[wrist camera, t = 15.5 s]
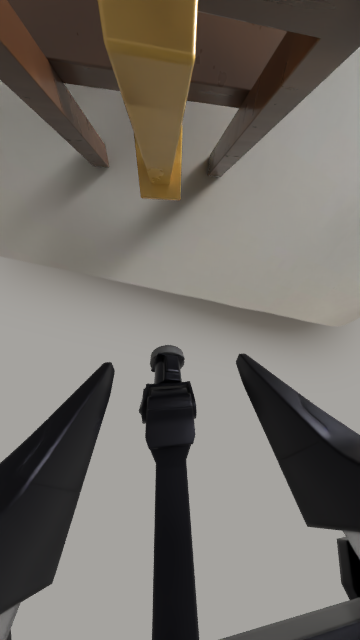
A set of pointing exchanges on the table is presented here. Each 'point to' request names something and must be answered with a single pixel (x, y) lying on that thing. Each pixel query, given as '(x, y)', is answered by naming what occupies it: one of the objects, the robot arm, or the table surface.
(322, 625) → the robot arm
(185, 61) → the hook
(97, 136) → the brown legged wooden frame
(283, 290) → the table surface
